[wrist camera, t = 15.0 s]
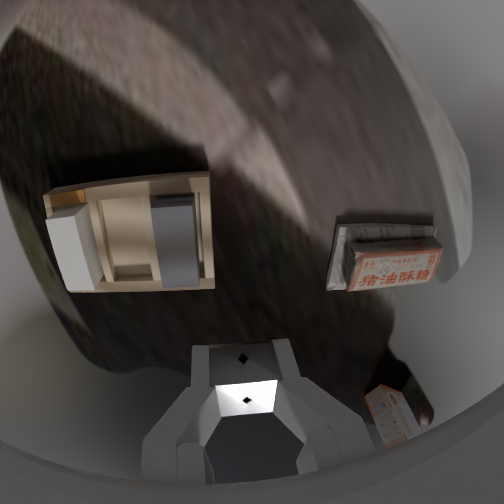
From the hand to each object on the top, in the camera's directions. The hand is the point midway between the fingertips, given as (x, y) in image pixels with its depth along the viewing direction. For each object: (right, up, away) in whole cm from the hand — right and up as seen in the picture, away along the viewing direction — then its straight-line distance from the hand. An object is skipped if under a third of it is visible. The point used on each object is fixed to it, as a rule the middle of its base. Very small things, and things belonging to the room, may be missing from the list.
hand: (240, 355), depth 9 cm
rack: (-14, +6, +22) cm, 27 cm away
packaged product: (+20, +3, +29) cm, 36 cm away
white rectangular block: (-20, +5, +20) cm, 29 cm away
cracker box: (+34, -33, +51) cm, 70 cm away
